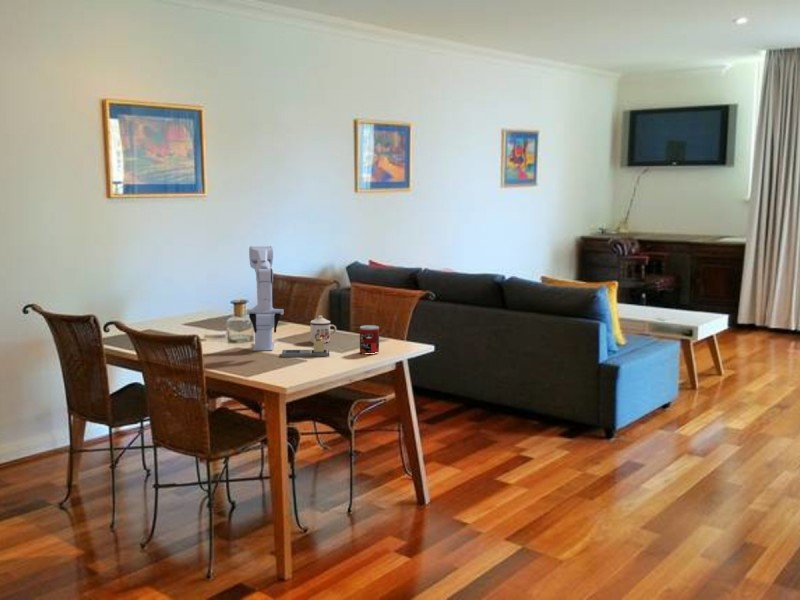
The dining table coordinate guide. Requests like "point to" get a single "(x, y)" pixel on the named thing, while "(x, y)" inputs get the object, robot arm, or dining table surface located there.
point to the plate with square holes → (303, 353)
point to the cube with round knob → (318, 345)
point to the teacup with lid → (321, 329)
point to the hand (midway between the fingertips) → (265, 332)
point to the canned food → (369, 339)
